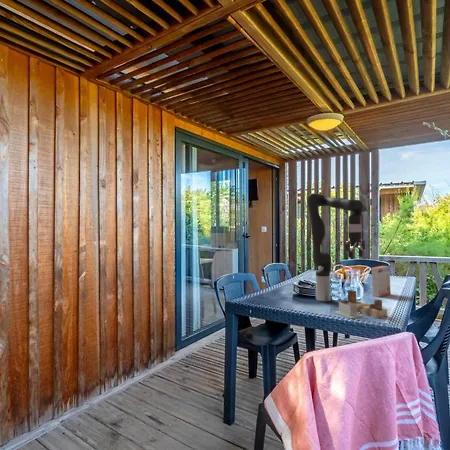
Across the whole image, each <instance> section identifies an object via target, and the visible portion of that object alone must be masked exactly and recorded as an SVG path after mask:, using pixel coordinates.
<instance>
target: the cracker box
mask: <svg viewBox="0 0 450 450" xmlns="http://www.w3.org/2000/svg"><path fill="white" fill-rule="evenodd" d="M371 287H372V297H377V298H381V297H385V296H390V295H391V292H392V291H391V270H390V266H387V265H380V266H374V267H371Z"/></svg>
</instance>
